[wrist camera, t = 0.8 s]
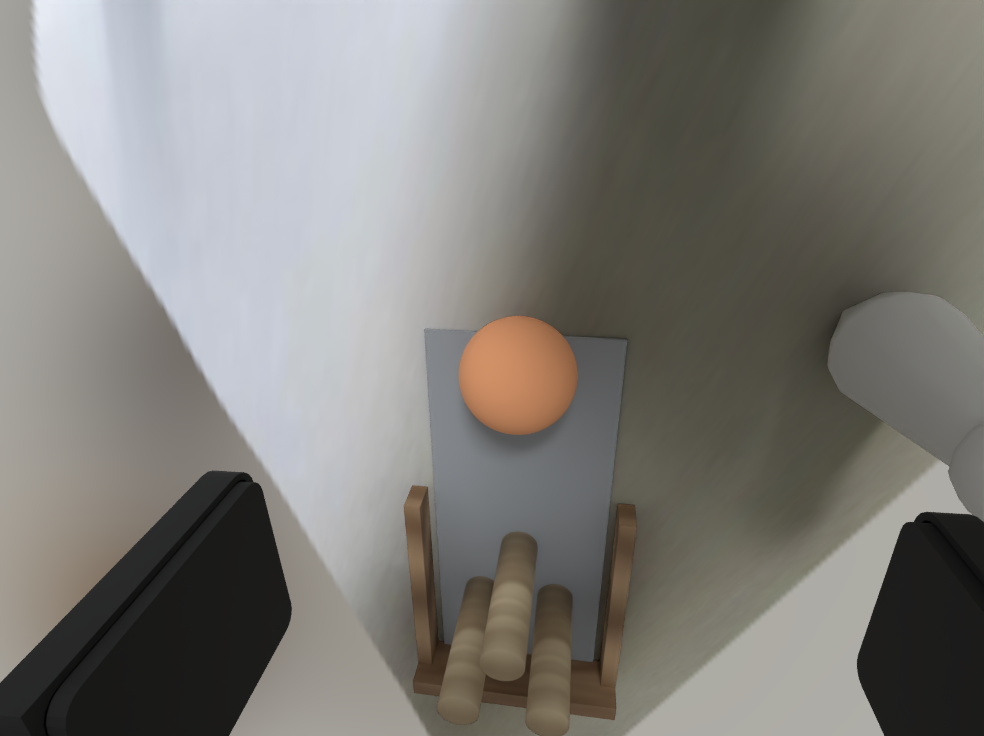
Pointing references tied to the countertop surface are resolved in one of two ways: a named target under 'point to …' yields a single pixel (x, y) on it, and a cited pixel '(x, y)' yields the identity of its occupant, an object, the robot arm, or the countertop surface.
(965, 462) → the salt shaker
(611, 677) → the lane rail
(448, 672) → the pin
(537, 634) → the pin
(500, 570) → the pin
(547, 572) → the plate
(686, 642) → the countertop surface
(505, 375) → the ball
